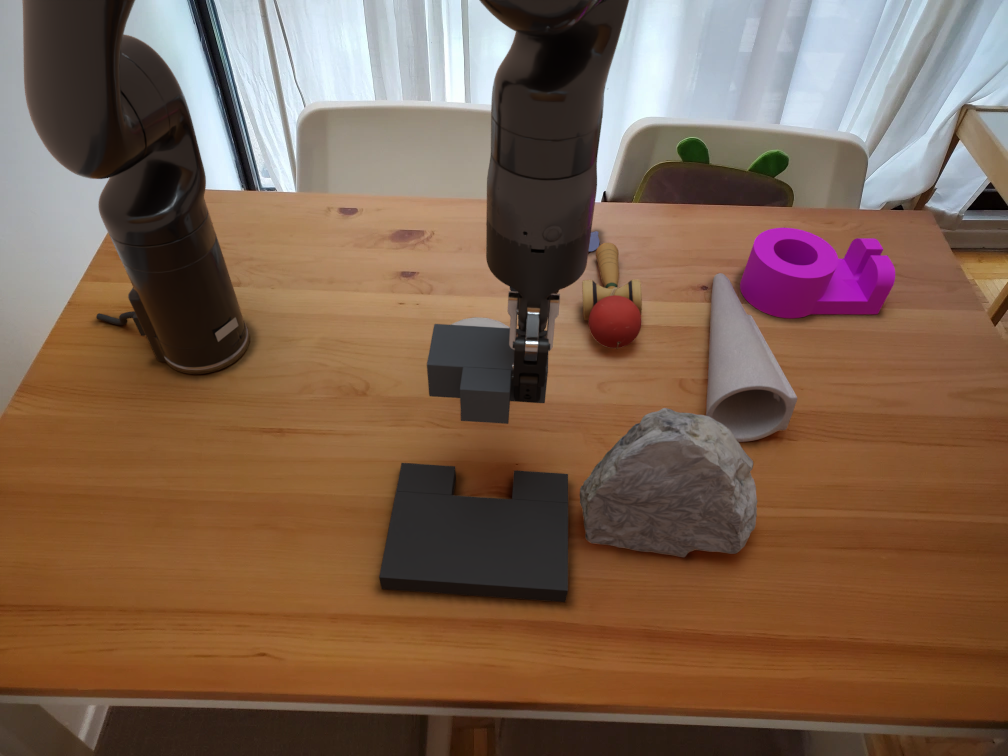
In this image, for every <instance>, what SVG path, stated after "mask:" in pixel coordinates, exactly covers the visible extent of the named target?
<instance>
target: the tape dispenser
mask: <svg viewBox="0 0 1008 756" xmlns="http://www.w3.org/2000/svg"><path fill="white" fill-rule="evenodd" d="M753 241H754V242H753V243H752V246H751V250H750V253H749V256H748V258H747V262H746V264H745V268H744V271H743V273H742V276H741V278H740V282H739V290H740V293H741V294H742V297H743V298H744V299H745V301H747V302H748V303H749V304H750V305H751V306H752V307H753V308H755V309H756V310H759V311H760V312H762V313H763V314H764V313H765V314H767V315H770V316H773V317H775V318H776V317H777V318H781V319H801V318H804V317H808V316H810V315H878V314H879V313H880V311H881V309H882V307H883V305H884V304H885V302H886V300H887V298H888V296H889V294H890V293H891V291H892V290H893V287H894V285H895V282H896V281H895V280H896V268H895V265H894V263H893V261H892V260H891V258H890V257H889V256H888V255H882V253H883V251H884V248H883V246H882V244H881V243H880V241H879V240H878V239H877V238H874V237H873V238H872V237H871V238H870V237H869V238H868V237H867V238H864V237H862V238H860V237H856V238H854V239H853V240H852V241H851V242H850V245H848V249H847V250H846V253H845V255H844V257H843V258H839V256H838V253H837V252H836V250H835V248H834V247H833V246H832V245H831V244H830V243H829V242H828V241H827V240H825V239H824V238H822V237H820V236H818V235H817V234H814V233H812V232H810V231H806V230H803V229H798V228H793V227H774V228H769V229H766V230H764V231H762V232H760V233H759V234H758V235H757V236H756V237H755V239H754V240H753Z"/></svg>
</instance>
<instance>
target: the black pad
mask: <svg viewBox="0 0 1008 756" xmlns="http://www.w3.org/2000/svg"><path fill="white" fill-rule="evenodd" d="M456 469H457V468H456V466H455V465H445V464H444V465H442V464H427V463H413V462H401V463H400V469H399V474H398V479H397V480H398V481H397V485H396V490H395V493H394V499H393V503H392V510H391V515H390V520H389V525H388V530H387V536H386V540H385V545H384V550H383V555H382V561H381V566H380V569H379V570H380V571H379V576H378V578H379V583H380V588H381V590H388V591H400V592H401V591H402V592H416V593H431V594H432V593H433V594H445V595H458V596H474V597H488V598H500V599H513V600H516V599H517V600H528V601H543V602H558V603H566V602H567V598H568V592H569V473H563V472H550V471H549V472H546V471H534V470H533V471H532V470H516V469H514V470H513V478H512V492H511V493H512V494H511V498H501V497H485V496H472V495H471V496H469V495H455V490H456V483H457V475H456V474H457V472H456V471H457V470H456Z"/></svg>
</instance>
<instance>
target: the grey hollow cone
mask: <svg viewBox="0 0 1008 756" xmlns="http://www.w3.org/2000/svg"><path fill="white" fill-rule="evenodd" d="M709 319H710V320H709V321H710V323H709V342H708V343H709V345H708V346H709V347H708V365H707V388H706V389H707V391H706V403H705V404H706V405H705V406H706V407H705V416H709V417H711V418H713V419H714V420H715V421H717V422H719V423H722V424H723V425H725V426H726V427H727V428H728V429H730V431H731V432H732V434H733V435H734V437H735V439H736V440H737V441H738V442H739V443H746V442H752V441H757V440H761V439H764V438H766V437H769V436H771V435H773V434H774V433H777V432H778V431H786V430H787V429H788V427H789V424H790V422H791V418H792V416H793V414H794V410H795V407H796V405H797V401H798V396H797V394H796V392H795V391H794V389H793V387H792V386H791V385H792V384H791V383H790V382H789V380H788V377H787V376H786V375H785V373H784V371H783V369H782V367H781V366H780V364H779V362H778V360H777V358H776V356H775V355H774V352H773V351H772V349H771V348H770V346H769V344H768V343H767V341H766V339H765V337H764V335H763V333H762V332H761V330H760V328H759V326H758V325H757V322H756V321H755V319H754V317H753V316H752V314H748V313H747V311H746V310H745V307H744V306H743V304H742V302H741V300H740V298H739V297H738V294H737V293H736V291H735V288H734V286H733V283H732V281H731V280H730V278H729V277H727V275H726V274H724V273H722V272H718V273H716V274H715V275H714V277H713V279H712V287H711V300H710V318H709Z"/></svg>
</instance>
